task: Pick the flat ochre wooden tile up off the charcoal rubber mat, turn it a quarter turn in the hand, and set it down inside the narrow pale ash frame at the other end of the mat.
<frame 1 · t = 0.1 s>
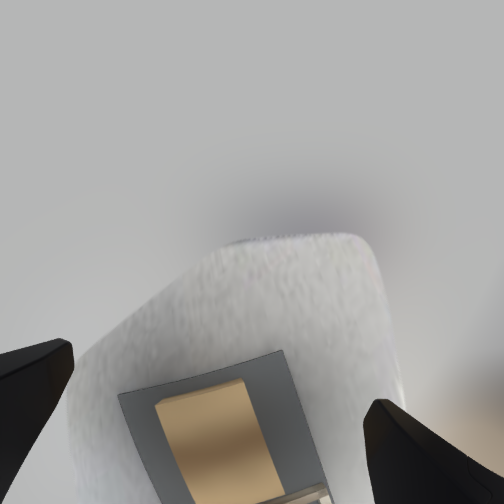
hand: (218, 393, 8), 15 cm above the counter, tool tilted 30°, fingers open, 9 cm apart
tile: (221, 443, 20), resting on mat
mat: (244, 496, 19), on the counter
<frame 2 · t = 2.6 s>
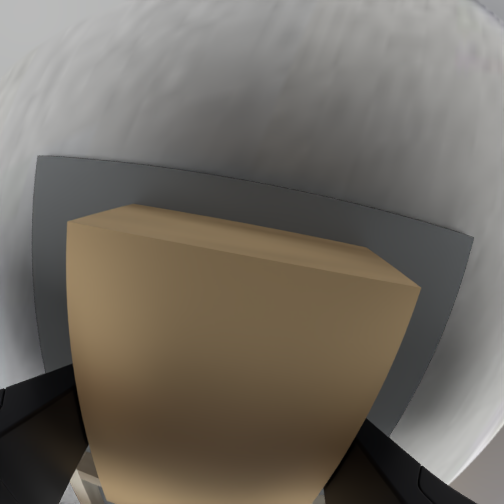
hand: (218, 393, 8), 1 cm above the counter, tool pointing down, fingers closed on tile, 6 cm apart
tile: (221, 376, 9), point 1 cm above the counter, touching gripper, mat
mat: (206, 466, 10), on the counter
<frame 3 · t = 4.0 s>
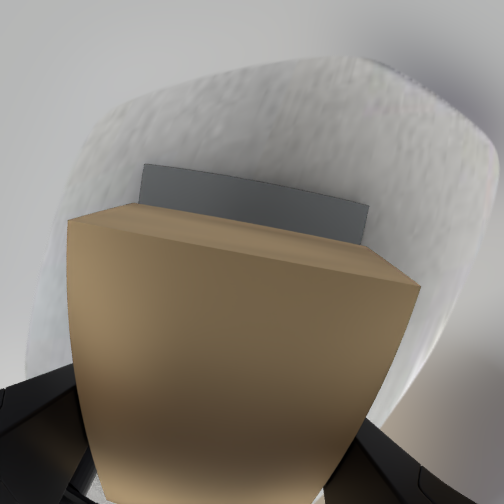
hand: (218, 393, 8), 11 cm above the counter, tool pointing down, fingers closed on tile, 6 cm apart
tile: (221, 375, 9), point 10 cm above the counter, touching gripper
mat: (225, 352, 20), on the counter
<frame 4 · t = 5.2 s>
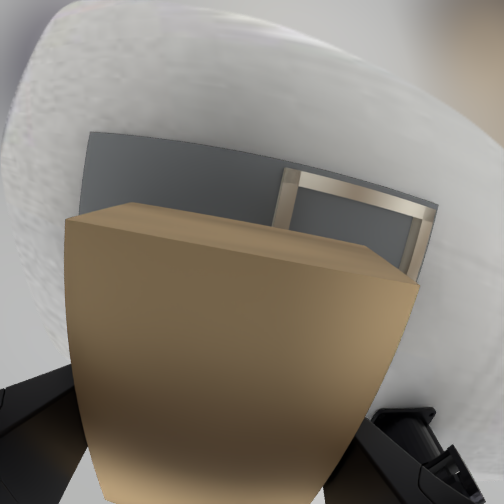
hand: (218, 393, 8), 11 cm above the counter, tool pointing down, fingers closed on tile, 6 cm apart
tile: (220, 375, 9), point 10 cm above the counter, touching gripper
mat: (246, 267, 18), on the counter
frame: (335, 287, 18), resting on mat
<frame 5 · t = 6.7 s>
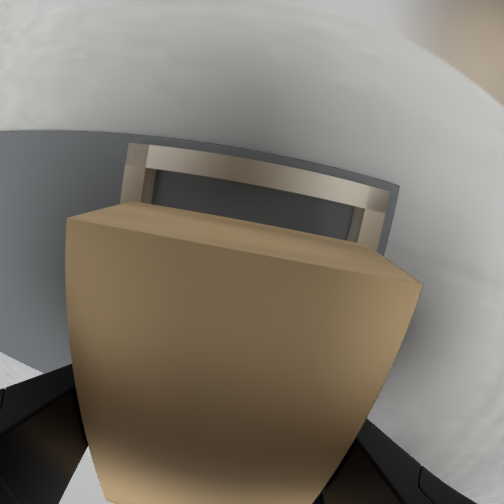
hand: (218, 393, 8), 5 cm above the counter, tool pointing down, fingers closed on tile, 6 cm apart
tile: (221, 375, 8), point 5 cm above the counter, touching gripper
mat: (111, 285, 13), on the counter
frame: (231, 316, 12), resting on mat
when the fingers open (3 cm above the counter, at t = 8.1 s): tile drops 1 cm, resting on mat.
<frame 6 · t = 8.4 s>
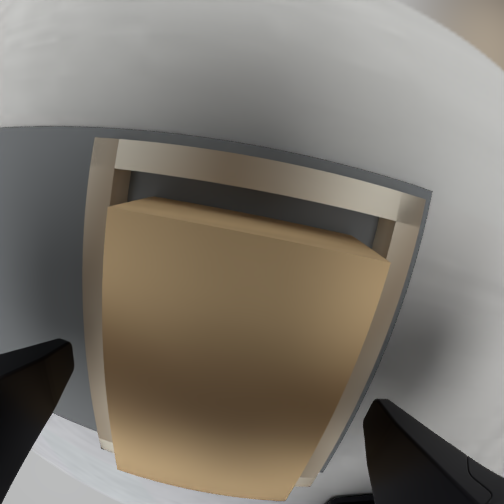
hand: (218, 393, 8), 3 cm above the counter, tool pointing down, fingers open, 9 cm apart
tile: (226, 349, 10), resting on mat
mat: (85, 308, 10), on the counter
frame: (226, 350, 10), resting on mat
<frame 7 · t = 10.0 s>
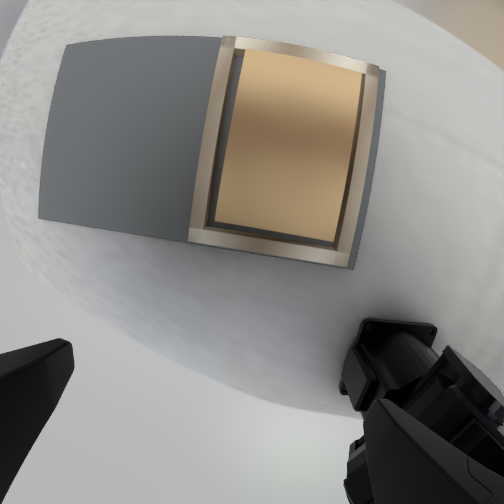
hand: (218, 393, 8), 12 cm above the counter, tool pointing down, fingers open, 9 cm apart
tile: (286, 146, 17), resting on mat
mat: (193, 134, 17), on the counter
frame: (285, 147, 17), resting on mat
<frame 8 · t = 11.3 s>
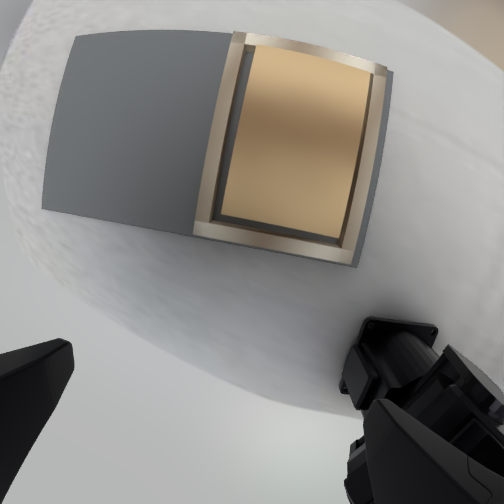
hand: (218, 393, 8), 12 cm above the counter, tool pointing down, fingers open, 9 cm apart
tile: (293, 142, 17), resting on mat
mat: (201, 128, 17), on the counter
frame: (293, 143, 17), resting on mat
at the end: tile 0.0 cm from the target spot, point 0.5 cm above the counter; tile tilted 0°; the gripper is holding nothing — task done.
